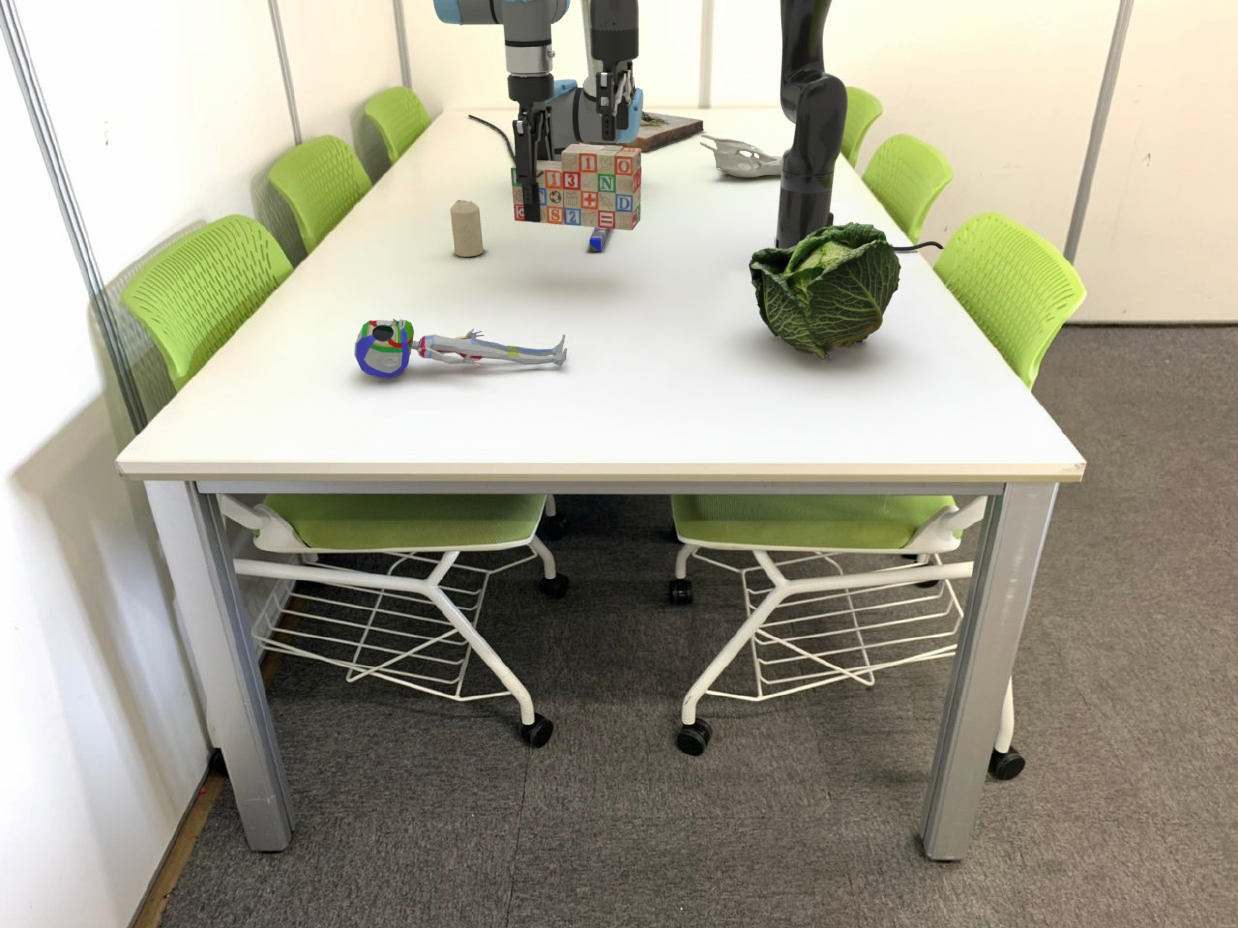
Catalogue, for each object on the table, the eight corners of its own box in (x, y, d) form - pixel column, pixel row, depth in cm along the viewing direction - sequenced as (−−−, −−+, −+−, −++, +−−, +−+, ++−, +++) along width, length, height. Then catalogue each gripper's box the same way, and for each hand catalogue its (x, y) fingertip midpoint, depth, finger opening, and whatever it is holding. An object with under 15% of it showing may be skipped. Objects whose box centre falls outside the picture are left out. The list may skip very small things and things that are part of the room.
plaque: (647, 125, 237) (559, 112, 252) (647, 153, 241) (560, 139, 256) (706, 107, 258) (622, 97, 273) (705, 133, 262) (622, 121, 277)
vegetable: (778, 371, 145) (721, 264, 137) (874, 304, 146) (823, 195, 138) (839, 398, 127) (777, 277, 119) (948, 321, 128) (894, 197, 120)
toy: (569, 347, 126) (349, 329, 122) (563, 400, 131) (350, 385, 126) (565, 318, 135) (359, 301, 130) (559, 369, 139) (360, 354, 134)
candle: (488, 249, 176) (483, 198, 171) (475, 258, 172) (470, 206, 167) (463, 246, 178) (457, 196, 173) (450, 255, 174) (443, 204, 168)
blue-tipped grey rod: (613, 210, 190) (600, 241, 173) (613, 220, 191) (600, 251, 174) (603, 210, 190) (589, 240, 173) (603, 220, 191) (589, 251, 174)
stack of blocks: (513, 222, 155) (508, 149, 149) (525, 212, 161) (520, 140, 154) (633, 230, 151) (633, 155, 144) (641, 219, 156) (642, 146, 149)
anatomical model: (702, 130, 224) (803, 129, 220) (702, 168, 229) (801, 167, 225) (697, 145, 212) (805, 144, 208) (697, 184, 216) (802, 184, 213)
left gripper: (532, 84, 136) (542, 233, 148) (569, 64, 152) (575, 201, 164) (486, 83, 138) (499, 231, 150) (527, 63, 153) (536, 198, 166)
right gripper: (627, 31, 131) (627, 146, 140) (648, 20, 143) (647, 126, 151) (577, 30, 133) (581, 144, 141) (602, 19, 144) (604, 125, 153)
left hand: (539, 215), depth 157 cm, fingers closed on stack of blocks, 6 cm apart
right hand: (615, 135), depth 146 cm, fingers open, 8 cm apart
